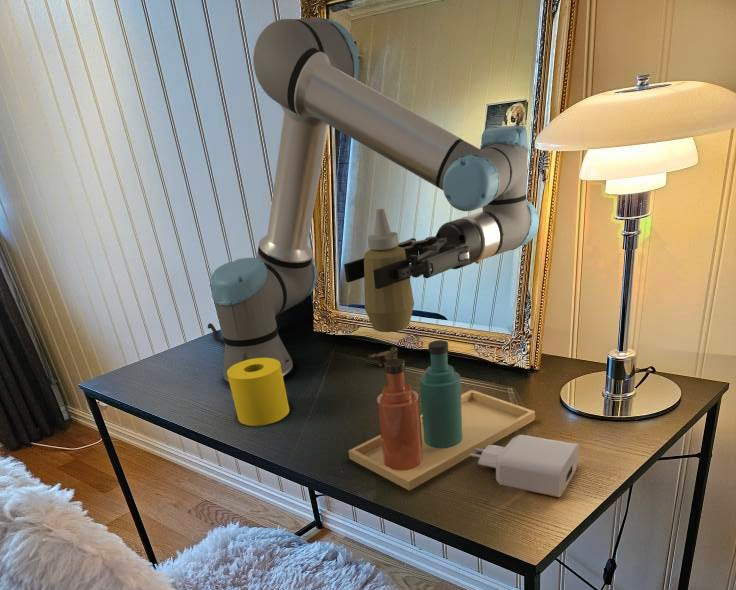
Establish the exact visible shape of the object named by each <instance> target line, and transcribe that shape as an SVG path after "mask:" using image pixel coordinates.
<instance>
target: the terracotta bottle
mask: <svg viewBox="0 0 736 590" xmlns="http://www.w3.org/2000/svg"><path fill="white" fill-rule="evenodd" d="M383 367H384V372H385V373H386V380H387V381H386V382H387V385H386V386H384V387H383V388H382V392H381V393H379V395H378V396H377V397H376V405H377V406H376V407H377V414H378V424H379V433H380V434H379V435H381V443H382V452H383V461H384V464H385V466H387V467H389V468H391V469H394V470H408V469H412V468H415V467H417V466H418V465H420V464H421V463H422V461H423V448H422V434H421V420H420V415H421V408H420V395H419V393H418V392H417V391H416V390H413V388H412V386H411V385H410V384H408V383H406V377H405V371H406V363H405V360H404V359H401V358H397V359H391V360H388V361H386V362H385V363H384V364H383Z"/></svg>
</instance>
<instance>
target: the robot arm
mask: <svg viewBox="0 0 736 590" xmlns="http://www.w3.org/2000/svg"><path fill="white" fill-rule="evenodd" d="M252 56H253V57H252V58H253V59H252V60H253V61H252V62H253V69H254V73H255V77H256V79H257V82H258V84H259V85H260V88H261V89H262V90H263V92H264V93H265V94H267V96H268V97H269V98H270V99H271V100H273V101H274V102H276V103H277V104H278V105H279V106H280V107H281V109H282V110H283V117H282V126H281V132H280V138H279V139H280V141H279V145H278V152H277V153H278V155H277V161H276V169H275V175H274V176H275V177H274V184H273V190H272V197H271V205H270V211H269V220H268V227H267V235H264V236H263V237H261V238H260V239H259V241H258V246H257V247H258V248H257V253H256V257H244V258H237V259H235V260H233V261H227V262H226V263H224V264H222V265H220V266H219V267H217V268H216V269H214V270H213V272H212V273H211V275H210V279H209V280H210V281H209V282H210V287H211V297H212V300H213V302H214V308H215V311H216V316H217V319H218V324H219V327H220V331H221V335H222V338H220V337H218V331H217V329H216V328H215V326H214V324H213V323H211V322H209V323H208V324H207V329H211V331H212V335H213V339H214V341H216V342H217V343H221V344H224V353H223V363H222V375H223V380H224V383H225V384H226V385H228V386H229V387H230V383H229V379H228V375H227V371H228V369H229V368H230V367H231V366H233V365H235V364H237V363H239V362H242V361H245V360H249V359H254V358H273V359H276V360H278V361H279V362H280V364H281V369H282V374H283V380H286V379H287V378H288V377H289V376H291V375H292V373H293V372H294V365H293V360H292V357H291V356H290V354H289V352H288V350H287V348H286V346H285V345H284V343H283V341H282V339H281V337H280V335H279V330H278V325H277V320H276V316H278V315H280V314H281V313H283V312H285V311H287V310H289V309H291V308H292V307H295V306H296V305H299V304H301V303H302V302H304V300H305V299H307V298H308V297H309V296H310V295H311V294H312V292H313V291H314V289H315V287H316V285H317V281H318V280H317V279H318V269H317V265H315V260H314V258H313V256H314V251H313V249H312V248H311V246H310V245H309V239H310V234H311V233H310V232H311V227H312V221H313V216H314V210H315V206H316V205H315V204H316V199H317V193H318V188H319V182H320V179H321V178H320V177H321V171H322V167H323V161H324V156H325V155H324V154H325V149H326V145H327V138H328V134H329V132H328V131H329V128H330V127H332V128H334V129H335V130H337V131H339V132H340V133H342V134H343V135H346V136H347V137H349V138H351V139H353V140H354V141H356V142H358V143H360V144H361V145H363V146H365V147H367V148H368V149H370V150H372V151H374V152H375V153H377V154H379V155H381V156H382V157H384V158H386V159H387V160H389V161H390V162H393V163H395V164H396V165H398V166H400V167H402V168H403V169H405V170H406V171H408V172H410V173H412V174H414V175H415V176H417V177H419V178H420V179H423V180H424V181H426V182H427V183H429V184H431V185H433V186H434V187H436V188H437V189H440V190H441V191H443V195H444V197H445V198H446V200H447V203H449V205H450V206H452V207H453V208H454V209H456V210H458V211H461V212H471V211H475V210H478V209H481V208H482V211H479V212H476V213H473V214H469V215H466V216H463V217H461V218H458V219H454V220H451V221H447V222H445V223H443V224H442V225H441V226H439V228H438V230H437V232H436V234H435V236H428V237H426V238H425V239H421V240H417V238H416V237H415V238H414V237H412V238H411V237H410V238H409V239H407V240H405V241H402V242H398V243H399V245H398V246H399V247H402V248H403V249H404V250H405V254H406V259H405V260H402V261H399V262H396V263H393V264H390V265H387V266H384V267H381V268H378V269H375V270H373V272H374V282H375V288H376V289H380V288H383V287H386V286H389V285H391V284H394V283H397V282H400V281H403V280H406V279H409V278H410V279H411V277H412V278H415V279H416V278H417V279H418V278H419V277H421V276H422V278H423V279H429V278H432V277H434V276H437V275H439V274H442V273H444V272H446V271H449V270H458V269H461V268H465V267H468V266H470V265H472V264H474V263H475V264H476V265H479V264H481V262H482V260H485V259H489V258H491V257H494V256H496V255H499V254H503V253H505V252H509V251H514V250H517V249H519V248H520V247H523V246H524V245H526V244H528V243H530V242H531V241H532V240H533V239H534V238H535V237H536V235H537V232H538V230H539V226H540V218H539V215H538V213H537V209H536V207H535V205H534V204H533V203H532V202H530V201H528V198H527V181H528V153H529V145H528V130H527V129H526V127H524V126H522V125H507V126H498V127H492V128H487V129H485V130H484V131H483V132H482V134H481V142H480V147H479V148H478V147H477V146H475V145H473V144H471V143H470V142H468V141H465V140H464V139H462V138H461V137H459V136H457V135H456V134H454V133H452V132H451V131H448V130H447V129H445V128H443V127H441V126H440V125H438V124H436V123H434V122H433V121H431V120H429V119H427V118H426V117H424V116H422V115H421V114H419V113H417V112H415V111H413V110H412V109H409V108H408V107H406V106H404V105H403V104H401V103H399V102H398V101H395V100H394V99H392V98H390V97H388V96H386V95H384V93H381V92H380V91H377V90H376V89H374V88H372V87H370V86H368V85H367V84H365V83H363V82H362V81H360V80H359V79H357V78H358V74H359V71H360V70H359V69H360V58H359V51H358V48H357V45H356V43H355V41H354V38H353V37H352V35H351V33H350V32H349V31H348V29H347V28H346V27H345V26H344V25H342V24H341V23H340V22H338V21H336V20H333V19H328V18H323V17H319V16H316V17H312V18H310V17H309V18H281V19H277V20H275V21H273V22H271V23H269V24H268V25H267V26H266V27H264V29H263V30H262V31H261V33H259V36H258V37H257V40H256V42H255V44H254V49H253V55H252ZM329 126H330V127H329ZM343 267H344V268H343V269H344V276H345V282H346V283H352V282H355V281H358V280H361V279H364V257H363V258H359V259H357V260H356V259H355V260H353V261H349V262H346V263H344V264H343Z"/></svg>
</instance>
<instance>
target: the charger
mask: <svg viewBox="0 0 736 590" xmlns="http://www.w3.org/2000/svg"><path fill="white" fill-rule="evenodd" d="M474 450H475V451H478V453H481V454H477V453H475V454H473V453H470V457H473V458H478V462H477V465H478V466H481V467H486V468H492V469H495V480H496V482H497V483H498V484H499V485H500V486H504V487H509V488H512V489H513V488H514V489H518V490H524V491H527V492H532V493H537V494H541V495H545V496H546V495H547V496H551V497H556V498H561V496H562V495H563V493H564V492H565V490H566V488H567V487H568V485H569V483H570V482H571V480H572V478H573V477H574V475H575V474H576V471H577V468H578V465H579V452H580V444H579V443H573V442H568V441H563V440H556V439H550V438H544V437H538V436H533V435H527V434H526V435H525V434H519V435H516V436H514V437H512V438H511V439H510V441H509V442H508V443H507V444H506V446H501V445H495V444H491V445H488V446H487V447H486V448H484V449H478V448H475V449H474Z"/></svg>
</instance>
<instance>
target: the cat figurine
mask: <svg viewBox="0 0 736 590" xmlns="http://www.w3.org/2000/svg"><path fill="white" fill-rule="evenodd" d="M398 353H399V350H398V348H397V347H396V346H392V347H390V349H389V350H386V351H382V352H379V353H373V354H368V355H367V356H366V359H367V360H377V364H378V366H379V368H383V367H384V363H385V362H386V361H388V360H391V359H398Z"/></svg>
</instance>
